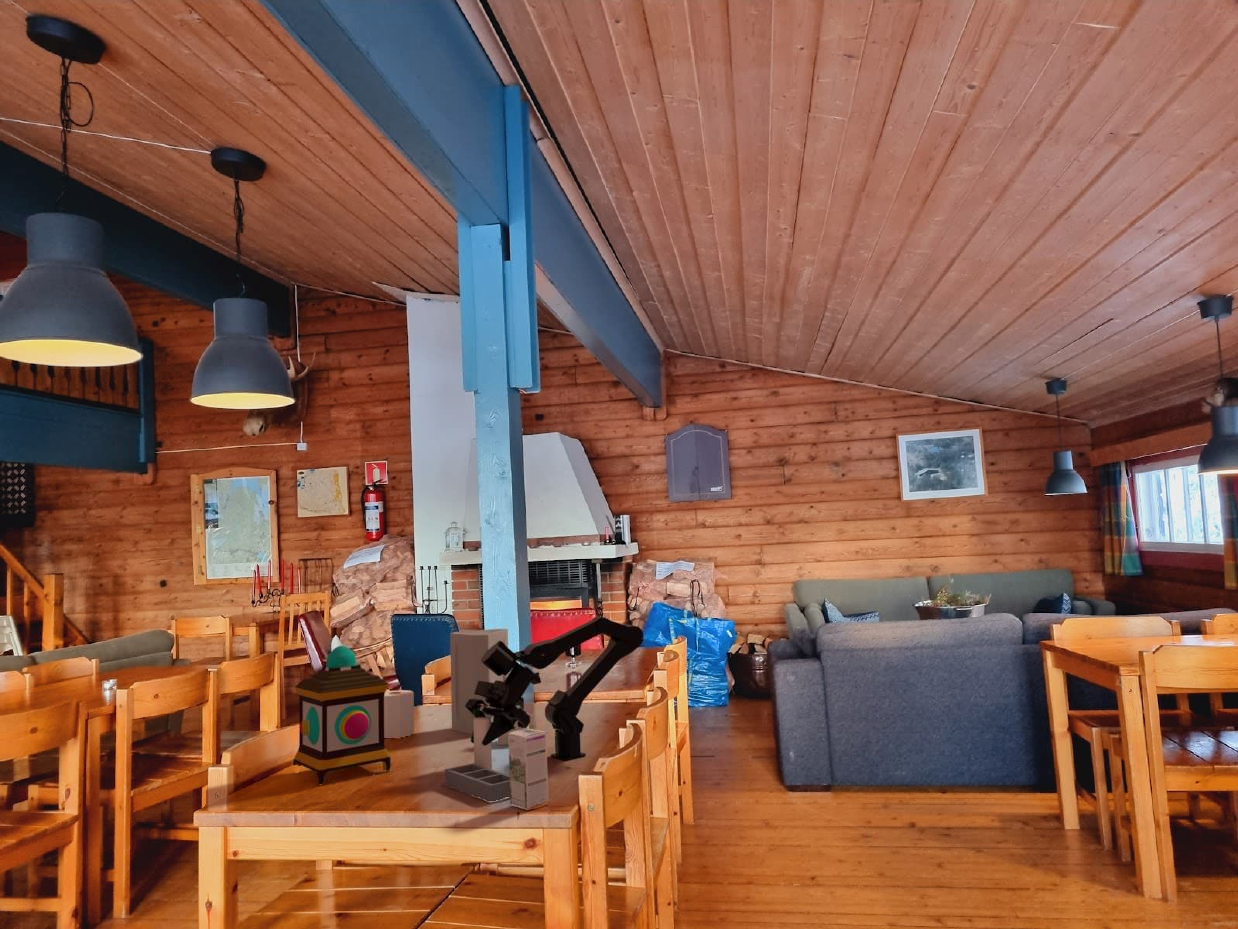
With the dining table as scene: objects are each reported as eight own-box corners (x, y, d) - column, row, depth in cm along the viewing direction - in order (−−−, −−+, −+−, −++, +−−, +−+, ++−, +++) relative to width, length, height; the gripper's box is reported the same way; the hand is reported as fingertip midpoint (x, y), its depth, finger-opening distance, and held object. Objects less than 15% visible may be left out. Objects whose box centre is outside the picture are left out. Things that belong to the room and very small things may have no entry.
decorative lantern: (285, 773, 203) (285, 647, 207) (364, 758, 216) (363, 639, 219) (315, 789, 188) (315, 652, 191) (398, 771, 201) (397, 643, 204)
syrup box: (549, 805, 169) (547, 730, 170) (526, 812, 165) (524, 735, 166) (532, 800, 173) (530, 727, 174) (508, 806, 169) (507, 732, 170)
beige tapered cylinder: (495, 771, 196) (493, 718, 197) (479, 774, 193) (478, 721, 195) (486, 768, 199) (485, 716, 200) (471, 771, 196) (470, 719, 198)
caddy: (520, 796, 176) (520, 778, 176) (491, 803, 171) (490, 785, 172) (473, 779, 191) (472, 763, 191) (444, 785, 186) (444, 769, 187)
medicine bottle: (529, 739, 231) (528, 694, 233) (524, 745, 224) (522, 698, 226) (504, 739, 232) (503, 695, 233) (497, 745, 225) (496, 699, 226)
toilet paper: (395, 740, 237) (394, 696, 238) (369, 737, 242) (369, 694, 243) (421, 733, 245) (420, 690, 246) (395, 730, 251) (395, 689, 252)
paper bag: (464, 722, 260) (462, 629, 263) (510, 721, 257) (508, 628, 260) (440, 735, 241) (439, 636, 244) (490, 735, 239) (487, 634, 242)
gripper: (470, 665, 208) (433, 718, 199) (519, 669, 195) (482, 727, 186) (496, 693, 213) (461, 746, 203) (545, 699, 200) (510, 756, 191)
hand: (477, 743), depth 196 cm, fingers closed on beige tapered cylinder, 4 cm apart
